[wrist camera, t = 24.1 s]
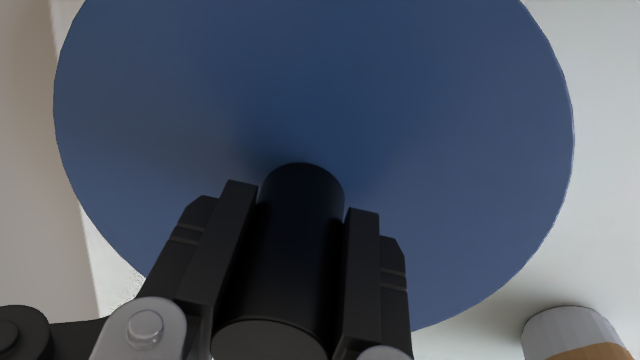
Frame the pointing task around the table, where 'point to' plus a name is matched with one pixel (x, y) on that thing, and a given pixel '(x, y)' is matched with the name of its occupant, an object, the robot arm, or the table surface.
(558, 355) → the coffee cup
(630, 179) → the table surface
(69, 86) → the tin lid
